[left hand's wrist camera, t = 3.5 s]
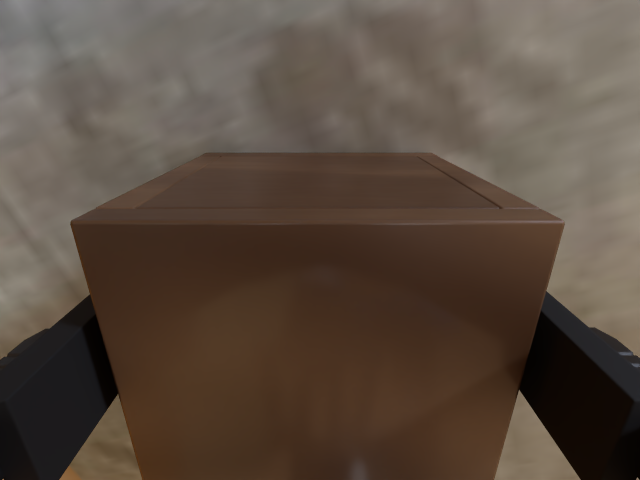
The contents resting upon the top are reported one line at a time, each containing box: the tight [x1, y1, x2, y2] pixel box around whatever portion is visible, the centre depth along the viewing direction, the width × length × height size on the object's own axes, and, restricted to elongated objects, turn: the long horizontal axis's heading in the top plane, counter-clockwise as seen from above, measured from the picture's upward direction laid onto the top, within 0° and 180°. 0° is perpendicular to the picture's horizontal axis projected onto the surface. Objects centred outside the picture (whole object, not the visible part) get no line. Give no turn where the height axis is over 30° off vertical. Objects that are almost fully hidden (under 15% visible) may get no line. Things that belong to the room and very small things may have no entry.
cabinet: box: [71, 153, 565, 480], centre depth 15 cm, size 17×10×10 cm, turn 0°
